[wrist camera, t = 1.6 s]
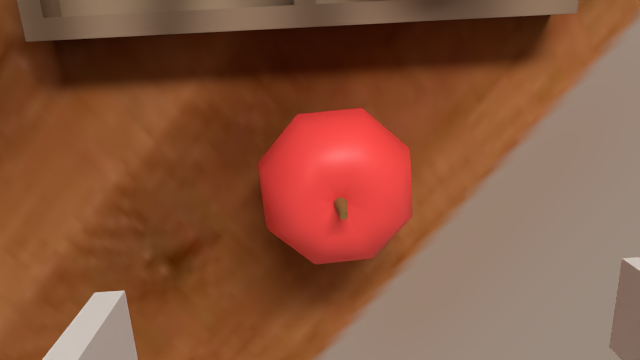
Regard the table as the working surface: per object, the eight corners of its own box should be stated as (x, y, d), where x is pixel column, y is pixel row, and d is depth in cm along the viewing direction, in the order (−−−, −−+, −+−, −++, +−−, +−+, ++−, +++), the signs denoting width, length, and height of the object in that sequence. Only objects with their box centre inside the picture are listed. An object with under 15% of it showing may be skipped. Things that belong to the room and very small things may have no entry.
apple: (302, 251, 29) (304, 330, 21) (233, 136, 27) (209, 178, 19) (422, 191, 28) (469, 250, 21) (362, 67, 26) (390, 82, 18)
